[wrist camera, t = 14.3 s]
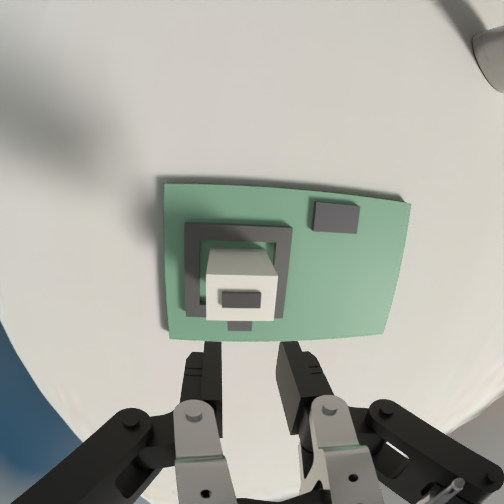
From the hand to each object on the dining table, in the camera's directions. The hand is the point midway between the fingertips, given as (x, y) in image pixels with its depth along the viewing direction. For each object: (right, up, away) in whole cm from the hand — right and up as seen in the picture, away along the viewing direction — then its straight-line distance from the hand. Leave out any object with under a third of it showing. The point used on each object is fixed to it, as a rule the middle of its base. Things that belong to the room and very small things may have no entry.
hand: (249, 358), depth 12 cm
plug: (-1, +3, +12) cm, 12 cm away
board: (+4, +3, +13) cm, 14 cm away
